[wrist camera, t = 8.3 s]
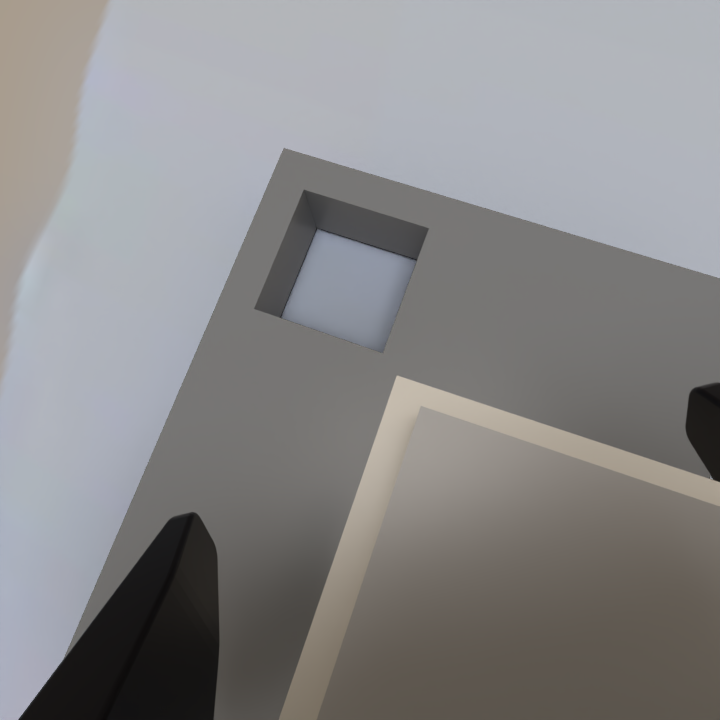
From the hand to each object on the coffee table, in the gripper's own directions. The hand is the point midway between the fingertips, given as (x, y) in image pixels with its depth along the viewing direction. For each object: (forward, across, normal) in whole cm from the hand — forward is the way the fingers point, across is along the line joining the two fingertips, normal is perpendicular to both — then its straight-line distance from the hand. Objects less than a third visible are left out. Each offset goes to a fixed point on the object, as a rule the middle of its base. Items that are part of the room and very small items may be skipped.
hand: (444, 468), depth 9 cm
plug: (+5, 0, +7) cm, 8 cm away
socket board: (+8, 0, +8) cm, 11 cm away
